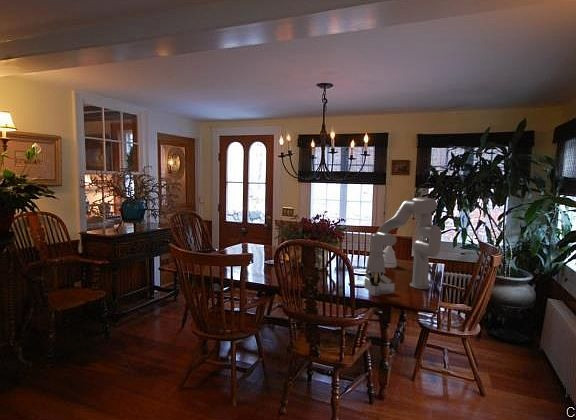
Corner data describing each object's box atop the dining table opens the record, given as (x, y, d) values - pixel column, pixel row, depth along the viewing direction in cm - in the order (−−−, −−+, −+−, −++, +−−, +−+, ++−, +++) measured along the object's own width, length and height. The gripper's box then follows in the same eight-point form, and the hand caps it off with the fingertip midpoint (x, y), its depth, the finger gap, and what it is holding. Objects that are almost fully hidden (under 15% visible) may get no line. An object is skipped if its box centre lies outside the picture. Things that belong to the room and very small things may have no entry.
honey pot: (381, 263, 310) (383, 241, 308) (397, 265, 304) (398, 243, 303) (378, 266, 299) (379, 244, 297) (394, 268, 293) (395, 246, 291)
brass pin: (375, 285, 231) (376, 269, 230) (378, 287, 228) (379, 271, 227) (371, 285, 230) (372, 270, 229) (373, 287, 227) (374, 271, 226)
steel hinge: (383, 286, 245) (384, 277, 245) (396, 294, 229) (397, 285, 229) (360, 287, 242) (360, 278, 241) (371, 296, 226) (372, 286, 225)
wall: (384, 287, 256) (369, 271, 261) (392, 280, 252) (376, 264, 256) (374, 297, 244) (358, 279, 248) (383, 290, 239) (366, 272, 243)
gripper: (385, 252, 232) (384, 280, 234) (361, 252, 229) (360, 281, 230) (391, 255, 225) (389, 284, 227) (366, 255, 221) (365, 285, 223)
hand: (374, 282), depth 229 cm, fingers closed on brass pin, 3 cm apart
